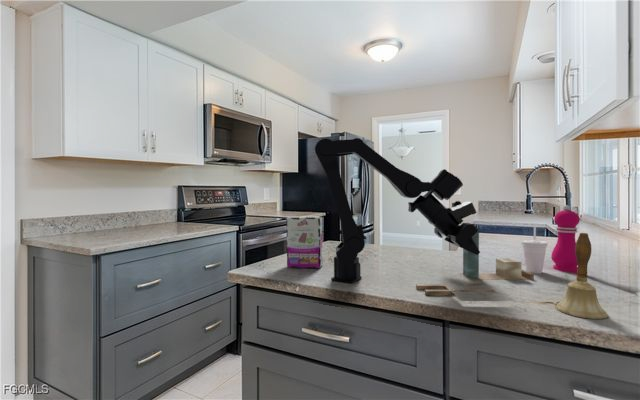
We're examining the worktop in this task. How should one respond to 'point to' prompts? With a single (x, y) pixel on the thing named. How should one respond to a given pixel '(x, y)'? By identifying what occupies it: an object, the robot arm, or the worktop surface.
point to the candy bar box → (304, 242)
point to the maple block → (508, 268)
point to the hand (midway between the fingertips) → (476, 252)
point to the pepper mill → (565, 241)
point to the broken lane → (445, 289)
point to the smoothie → (534, 254)
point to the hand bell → (582, 287)
